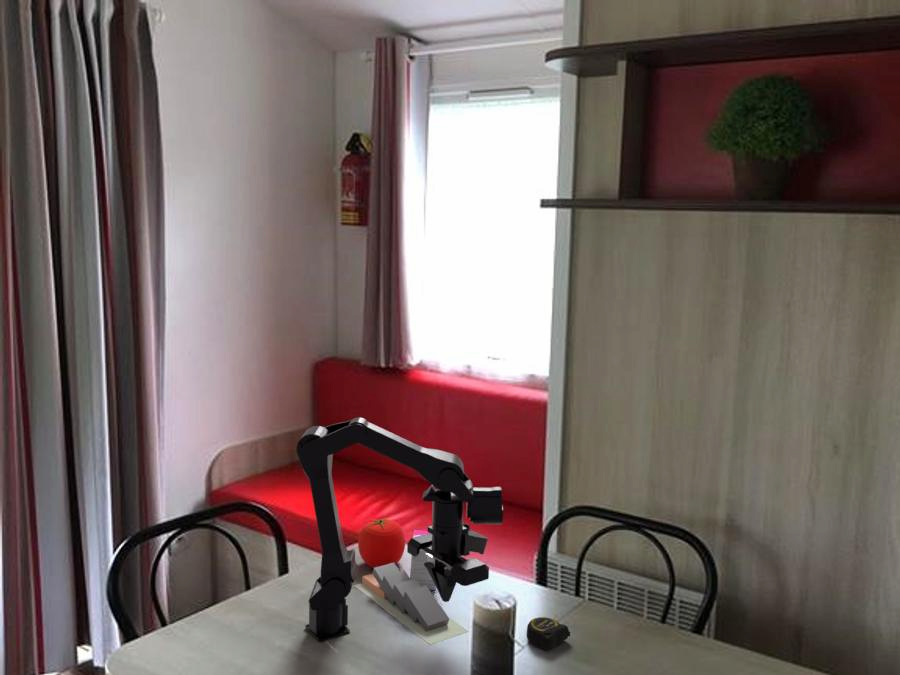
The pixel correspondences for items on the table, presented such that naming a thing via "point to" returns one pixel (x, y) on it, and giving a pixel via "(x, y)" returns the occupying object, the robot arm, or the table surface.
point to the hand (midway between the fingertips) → (445, 601)
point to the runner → (428, 636)
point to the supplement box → (421, 567)
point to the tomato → (381, 542)
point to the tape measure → (546, 632)
